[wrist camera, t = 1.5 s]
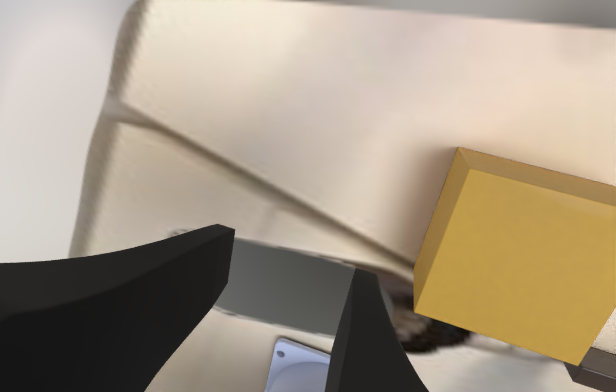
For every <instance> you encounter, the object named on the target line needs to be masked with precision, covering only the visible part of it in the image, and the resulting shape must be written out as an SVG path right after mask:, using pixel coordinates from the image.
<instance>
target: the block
mask: <svg viewBox="0 0 616 392" xmlns="http://www.w3.org/2000/svg"><path fill="white" fill-rule="evenodd" d="M615 307H616V187H615V186H611V185H607V184H603V183H599V182H595V181H591V180H587V179H583V178H579V177H575V176H571V175H568V174H564V173H560V172H556V171H552V170H548V169H544V168H540V167H536V166H532V165H528V164H524V163H520V162H516V161H512V160H508V159H504V158H500V157H496V156H492V155H488V154H484V153H481V152H477V151H473V150H469V149H465V148H461V147H458V148H457V151H456V154H455V156H454V159H453V162H452V165H451V167H450V170H449V173H448V176H447V178H446V181H445V184H444V187H443V189H442V192H441V195H440V197H439V200H438V203H437V206H436V208H435V211H434V214H433V217H432V219H431V222H430V225H429V227H428V230H427V233H426V236H425V238H424V241H423V244H422V247H421V249H420V252H419V255H418V258H417V260H416V263H415V266H414V312H415V313H418V314H421V315H425V316H428V317H431V318H434V319H437V320H440V321H443V322H446V323H449V324H452V325H455V326H458V327H461V328H464V329H467V330H470V331H473V332H476V333H479V334H482V335H485V336H488V337H491V338H494V339H497V340H500V341H503V342H506V343H509V344H513V345H516V346H519V347H522V348H525V349H528V350H531V351H534V352H537V353H540V354H543V355H546V356H549V357H552V358H555V359H558V360H561V361H564V362H567V363H570V364H573V365H576V366H578V365H579V364H580V362H581V361H582V359H583V357H584V356H585V354H586V353H587V351H588V350H589V348H590V346H591V345H592V343H593V342H594V340H595V339H596V337H597V335H598V334H599V332H600V331H601V329H602V328H603V326H604V325H605V323H606V321H607V320H608V318H609V317H610V315H611V314H612V312H613V310H614V309H615Z"/></svg>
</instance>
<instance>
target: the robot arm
mask: <svg viewBox="0 0 616 392" xmlns="http://www.w3.org/2000/svg"><path fill="white" fill-rule="evenodd" d="M234 235H235V229H232V228H229V227H226V226H223V225H220V224H215V225H210V226H207V227H203V228H200V229H197V230H193V231H190V232H187V233H184V234H181V235H177V236H174V237H171V238H167V239H164V240H161V241H157V242H153V243H149V244H145V245H141V246H138V247H134V248H130V249H125V250H121V251H116V252H110V253H105V254H99V255H93V256H86V257H78V258H69V259H60V260H51V261H38V262H20V263H0V392H144V391H145V390H146V388H147V387H148V385H149V384H150V383H151V381H152V380H153V378H154V377H155V375H156V374H157V373H158V371H159V370H160V369H161V368H162V366H163V365H164V364H165V362H166V361H167V360H168V359H169V358H170V357H171V355H172V354H173V353H174V352H175V351H176V350H177V348H178V347H179V346H180V345H181V344H182V342H183V341H184V340H185V339H186V338H187V337H188V335H189V334H190V333H191V332H192V331H193V330H194V328H195V327H196V326H197V325H198V324H199V323H200V321H201V320H202V319H203V318H204V317H205V315H206V314H207V313H208V312H209V311H210V309H211V308H212V307H213V305H214V304H215V302H216V301H217V299H218V297H219V296H220V294H221V293H222V291H223V289H224V288H225V286H226V285H227V283H228V276H229V269H230V261H231V255H232V249H233V242H234ZM280 351H282V352H284V353H281V352H280ZM265 392H429V391H428V390H427V388H426V387H425V385H424V384H423V382H422V381H421V379H420V378H419V376H418V375H417V373H416V371H415V370H414V368H413V366H412V364H411V363H410V361H409V359H408V357H407V355H406V353H405V351H404V349H403V347H402V345H401V343H400V341H399V339H398V337H397V334H396V332H395V330H394V327H393V325H392V323H391V320H390V317H389V315H388V312H387V309H386V306H385V303H384V300H383V297H382V293H381V290H380V285H379V280H378V277H377V275H376V274H374V273H371V272H367V271H364V270H361V269H358V268H356V269H355V272H354V275H353V279H352V282H351V286H350V289H349V292H348V296H347V299H346V302H345V306H344V309H343V313H342V316H341V320H340V323H339V326H338V330H337V334H336V337H335V340H334V344H333V347H332V351H331V355H329V354H326V353H323V352H321V351H318V350H315V349H312V348H310V347H307V346H304V345H301V344H298V343H296V342H293V341H290V340H287V339H284V338H280V339H278V340H277V342H276V344H275V348H274V352H273V357H272V361H271V366H270V370H269V375H268V379H267V384H266V388H265Z"/></svg>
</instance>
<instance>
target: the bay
mask: <svg viewBox="0 0 616 392" xmlns="http://www.w3.org/2000/svg"><path fill="white" fill-rule="evenodd" d="M563 363H564V365H565V367H566V369H567V371H568V373H569V375H570V377H571V379H572V381H573V382H576V383H579V384H582V385H585V386H588V387H591V388H594V389H597V390H600V391H603V392H616V355H613V354H610V353H607V352H604V351H601V350H598V349H595V348H591V347H590V348H589V350H588V351H587V353H586V354H585V356H584V357H583V359H582V361H581V362H580V364H579V365H578V366H576V365H573V364H570V363H567V362H564V361H563Z"/></svg>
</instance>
